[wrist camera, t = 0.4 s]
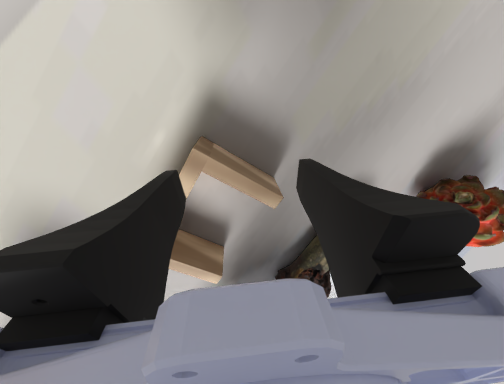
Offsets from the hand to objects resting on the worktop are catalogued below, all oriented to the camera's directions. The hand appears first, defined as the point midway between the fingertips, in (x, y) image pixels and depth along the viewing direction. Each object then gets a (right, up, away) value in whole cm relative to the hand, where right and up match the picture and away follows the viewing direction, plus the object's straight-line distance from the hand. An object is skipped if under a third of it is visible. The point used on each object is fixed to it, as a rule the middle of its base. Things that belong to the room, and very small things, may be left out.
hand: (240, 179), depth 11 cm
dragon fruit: (+27, -2, +16) cm, 31 cm away
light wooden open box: (-4, -3, +13) cm, 14 cm away
